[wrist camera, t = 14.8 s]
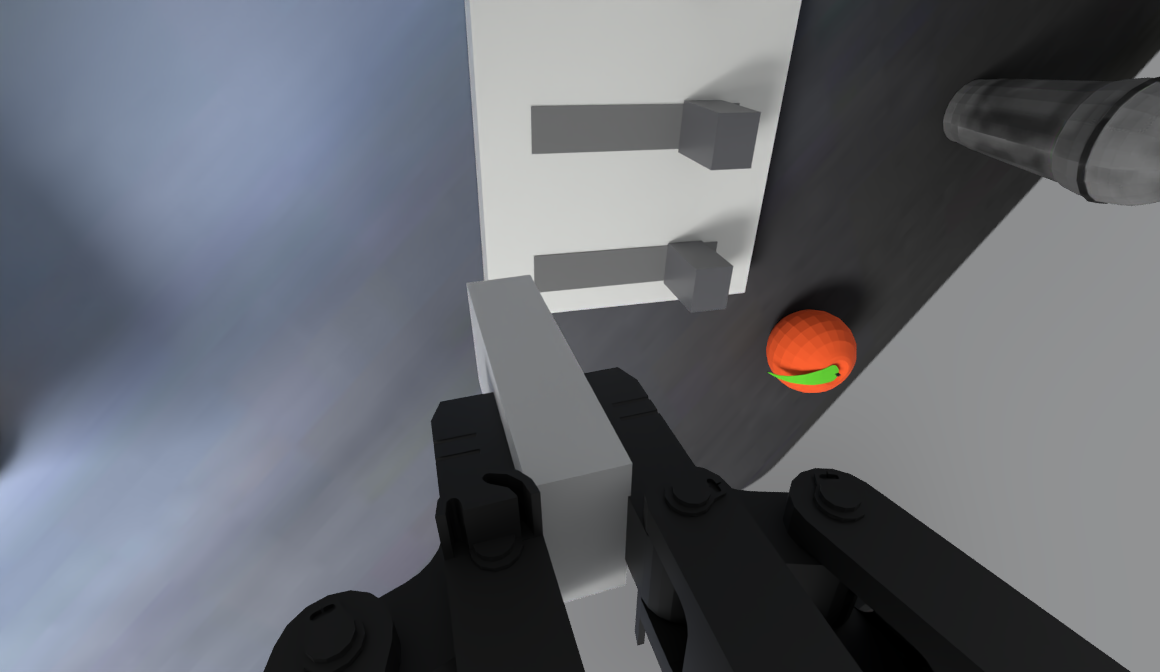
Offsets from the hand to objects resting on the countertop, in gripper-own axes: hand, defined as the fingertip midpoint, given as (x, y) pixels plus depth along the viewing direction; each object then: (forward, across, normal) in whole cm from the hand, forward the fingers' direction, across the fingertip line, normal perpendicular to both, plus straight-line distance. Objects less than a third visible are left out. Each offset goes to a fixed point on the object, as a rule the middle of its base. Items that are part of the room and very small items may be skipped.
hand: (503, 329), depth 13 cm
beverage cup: (+23, +40, -1) cm, 46 cm away
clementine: (+24, +27, -18) cm, 40 cm away
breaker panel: (+24, +12, 0) cm, 27 cm away
